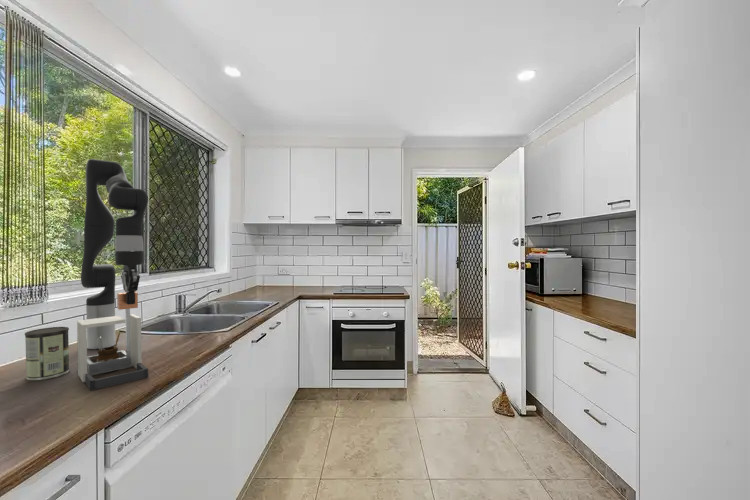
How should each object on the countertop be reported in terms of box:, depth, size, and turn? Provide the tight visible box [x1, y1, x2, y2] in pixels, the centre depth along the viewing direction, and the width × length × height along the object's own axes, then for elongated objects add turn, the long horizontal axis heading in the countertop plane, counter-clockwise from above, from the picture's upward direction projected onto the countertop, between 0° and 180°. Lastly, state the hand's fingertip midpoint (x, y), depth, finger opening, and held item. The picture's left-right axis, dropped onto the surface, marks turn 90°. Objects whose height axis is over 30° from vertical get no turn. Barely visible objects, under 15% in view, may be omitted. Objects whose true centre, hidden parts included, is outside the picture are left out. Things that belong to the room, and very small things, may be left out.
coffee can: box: [24, 326, 70, 381], centre depth 114 cm, size 10×10×14 cm
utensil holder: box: [97, 331, 121, 374], centre depth 117 cm, size 6×6×12 cm
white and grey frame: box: [76, 313, 143, 383], centre depth 115 cm, size 10×15×17 cm, turn 136°
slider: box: [87, 291, 139, 376], centre depth 119 cm, size 12×13×24 cm
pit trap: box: [84, 363, 149, 391], centre depth 109 cm, size 9×14×2 cm, turn 136°
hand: (130, 304), depth 115 cm, fingers closed
